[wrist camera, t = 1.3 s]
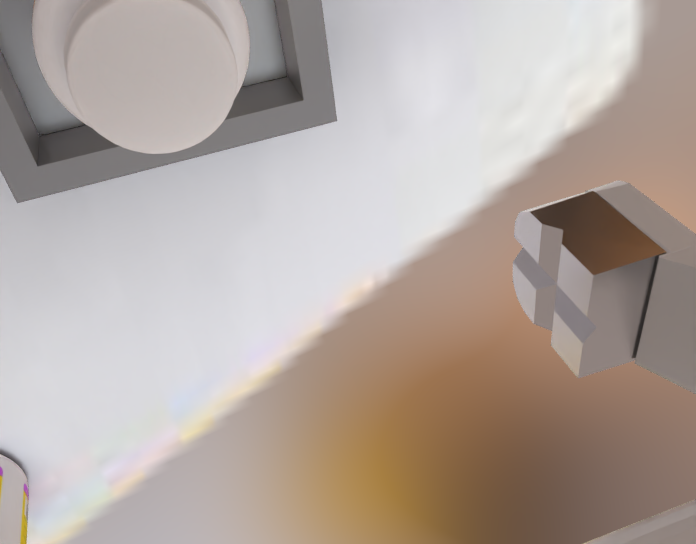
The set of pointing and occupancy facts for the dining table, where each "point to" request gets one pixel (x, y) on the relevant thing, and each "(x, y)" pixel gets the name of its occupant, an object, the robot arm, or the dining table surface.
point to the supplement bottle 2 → (144, 66)
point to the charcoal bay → (236, 130)
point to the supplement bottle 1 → (13, 503)
